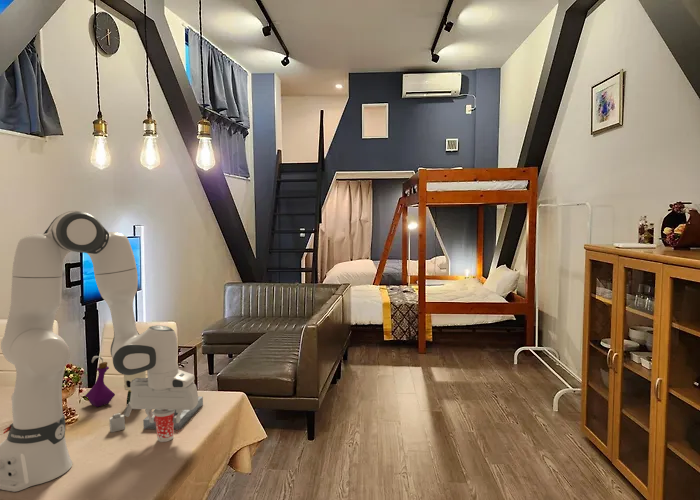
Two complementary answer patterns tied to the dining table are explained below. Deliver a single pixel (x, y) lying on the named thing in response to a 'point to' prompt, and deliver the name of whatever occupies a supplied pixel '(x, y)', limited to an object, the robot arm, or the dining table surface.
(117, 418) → the lighter
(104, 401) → the perfume bottle
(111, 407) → the dining table surface
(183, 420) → the gray divided tray
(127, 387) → the character mug
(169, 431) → the beverage cup
